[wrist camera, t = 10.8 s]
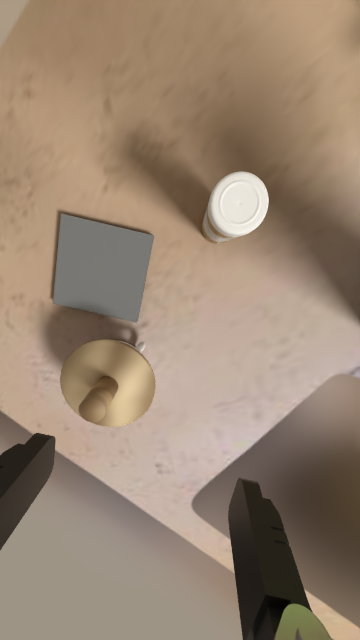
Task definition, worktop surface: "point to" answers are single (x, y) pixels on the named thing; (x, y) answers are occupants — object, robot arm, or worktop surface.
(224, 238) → the sprinkles bottle
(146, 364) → the lid
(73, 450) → the worktop surface
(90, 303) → the mat
